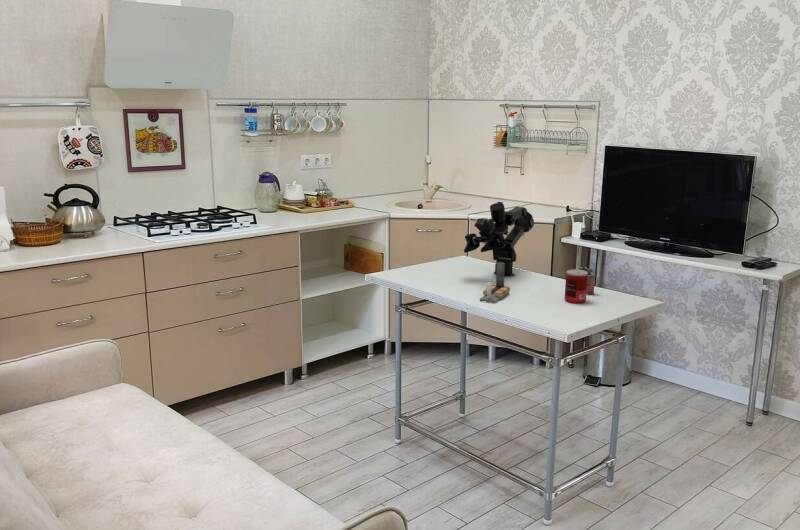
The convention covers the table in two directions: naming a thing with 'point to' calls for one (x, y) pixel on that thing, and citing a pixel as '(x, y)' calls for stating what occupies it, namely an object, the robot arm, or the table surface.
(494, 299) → the rail
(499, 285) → the wooden base with post
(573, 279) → the canned food
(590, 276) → the lighter
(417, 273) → the table surface
